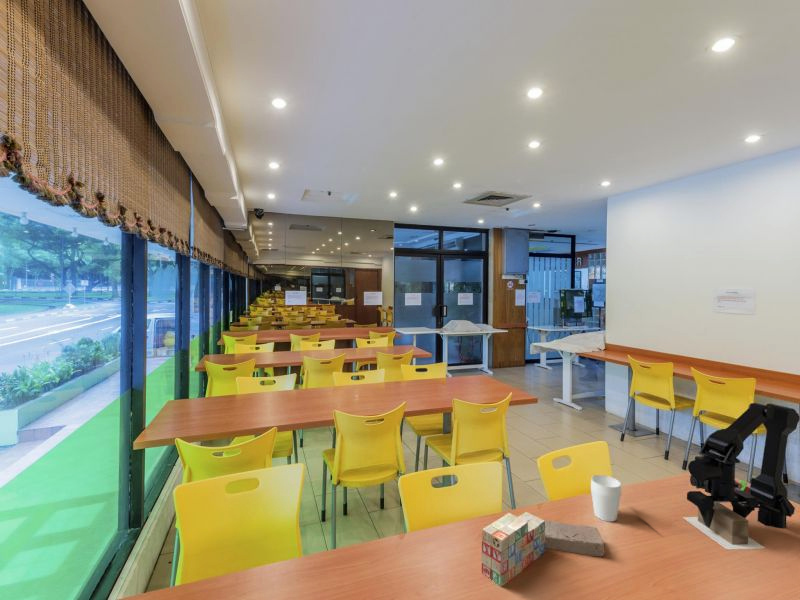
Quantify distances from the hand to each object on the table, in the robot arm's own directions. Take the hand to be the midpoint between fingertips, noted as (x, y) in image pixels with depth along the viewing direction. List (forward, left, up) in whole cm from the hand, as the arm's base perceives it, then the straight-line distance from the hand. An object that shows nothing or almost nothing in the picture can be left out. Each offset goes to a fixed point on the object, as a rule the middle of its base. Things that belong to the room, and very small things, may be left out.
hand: (721, 526), depth 118 cm
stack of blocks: (+69, +9, -4) cm, 69 cm away
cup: (+30, -12, -3) cm, 32 cm away
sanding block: (0, 0, -2) cm, 2 cm away
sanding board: (0, 0, -3) cm, 3 cm away
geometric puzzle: (-28, -22, -3) cm, 36 cm away
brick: (+49, +2, -4) cm, 49 cm away
